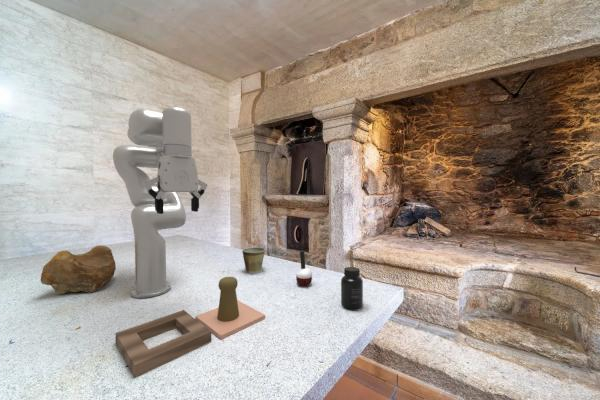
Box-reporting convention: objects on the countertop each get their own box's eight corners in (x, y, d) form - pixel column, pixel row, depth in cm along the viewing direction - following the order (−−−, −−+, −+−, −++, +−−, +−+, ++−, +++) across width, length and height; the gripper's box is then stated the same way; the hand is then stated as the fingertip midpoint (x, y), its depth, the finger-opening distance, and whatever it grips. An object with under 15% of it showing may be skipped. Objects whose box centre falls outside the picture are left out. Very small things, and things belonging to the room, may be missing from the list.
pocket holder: (115, 343, 60) (115, 333, 60) (183, 318, 71) (183, 309, 71) (134, 377, 49) (134, 365, 49) (211, 341, 61) (211, 331, 61)
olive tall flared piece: (232, 322, 67) (232, 282, 67) (212, 320, 69) (212, 280, 68) (242, 312, 73) (242, 275, 73) (224, 310, 75) (224, 273, 74)
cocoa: (309, 290, 93) (311, 259, 92) (293, 288, 94) (294, 257, 93) (313, 280, 102) (314, 252, 101) (298, 278, 103) (299, 250, 102)
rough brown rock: (74, 306, 80) (78, 260, 80) (31, 298, 82) (34, 253, 82) (132, 282, 103) (135, 246, 103) (97, 276, 105) (100, 241, 105)
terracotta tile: (195, 319, 71) (195, 316, 71) (237, 303, 81) (237, 300, 81) (221, 339, 61) (220, 335, 61) (265, 318, 72) (265, 315, 72)
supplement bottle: (363, 303, 82) (364, 266, 82) (361, 312, 76) (362, 273, 75) (342, 299, 84) (343, 264, 84) (339, 308, 78) (339, 271, 77)
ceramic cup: (263, 275, 108) (263, 252, 107) (240, 275, 108) (239, 252, 108) (267, 266, 121) (267, 245, 120) (246, 266, 121) (246, 245, 121)
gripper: (147, 147, 63) (148, 215, 63) (212, 155, 75) (212, 211, 76) (138, 150, 68) (140, 213, 69) (200, 157, 81) (201, 210, 81)
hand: (178, 212), depth 72 cm, fingers open, 9 cm apart
